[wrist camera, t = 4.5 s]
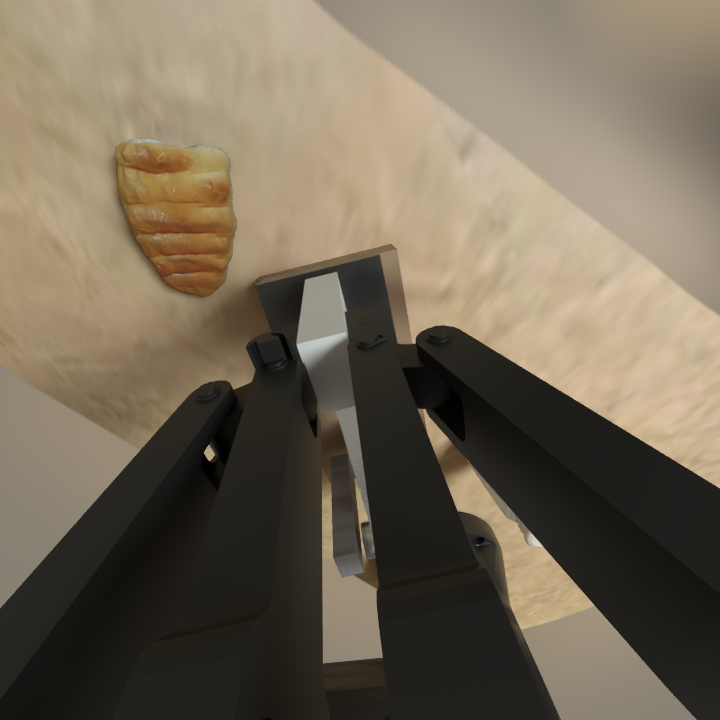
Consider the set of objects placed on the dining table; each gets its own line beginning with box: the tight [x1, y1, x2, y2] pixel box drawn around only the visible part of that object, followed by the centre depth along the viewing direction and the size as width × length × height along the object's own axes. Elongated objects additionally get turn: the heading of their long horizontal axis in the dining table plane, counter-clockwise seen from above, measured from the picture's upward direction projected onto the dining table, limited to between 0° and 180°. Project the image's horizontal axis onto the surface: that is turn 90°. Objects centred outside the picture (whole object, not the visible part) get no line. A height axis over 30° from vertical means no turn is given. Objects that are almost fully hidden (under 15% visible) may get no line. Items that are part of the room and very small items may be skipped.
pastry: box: [115, 138, 237, 296], centre depth 22 cm, size 9×7×4 cm
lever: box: [256, 251, 397, 559], centre depth 21 cm, size 21×6×3 cm, turn 13°
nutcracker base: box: [255, 244, 427, 577], centre depth 25 cm, size 20×10×12 cm, turn 13°
